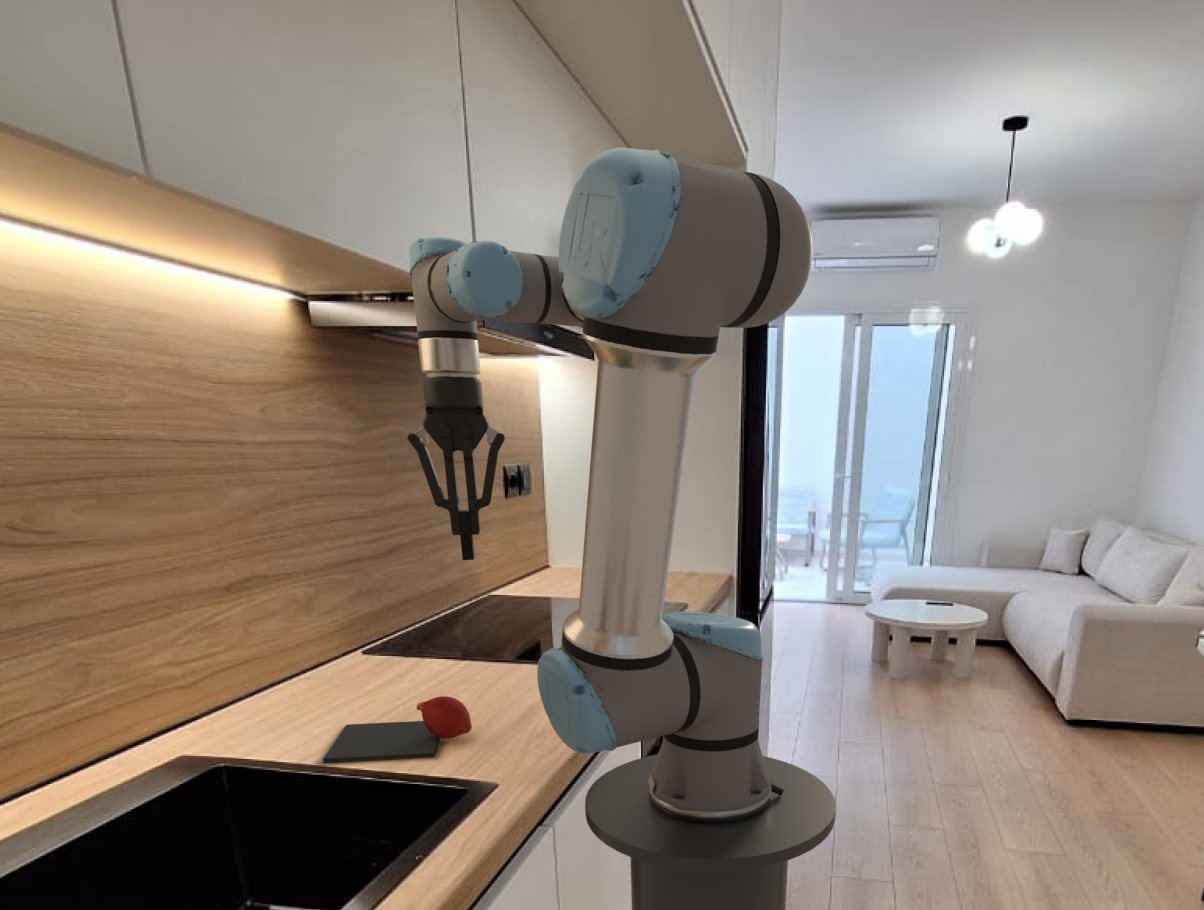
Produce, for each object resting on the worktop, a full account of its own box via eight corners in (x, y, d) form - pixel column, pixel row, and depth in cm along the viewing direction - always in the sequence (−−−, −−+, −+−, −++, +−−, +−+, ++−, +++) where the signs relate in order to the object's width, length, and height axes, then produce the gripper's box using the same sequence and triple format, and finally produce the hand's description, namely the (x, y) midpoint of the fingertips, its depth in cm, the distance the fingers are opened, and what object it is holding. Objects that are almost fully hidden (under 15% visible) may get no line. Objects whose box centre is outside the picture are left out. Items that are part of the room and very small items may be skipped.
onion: (469, 729, 117) (417, 703, 115) (484, 703, 114) (431, 676, 112) (457, 755, 113) (403, 729, 110) (473, 729, 109) (418, 702, 107)
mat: (445, 723, 119) (445, 719, 119) (434, 756, 107) (433, 752, 107) (346, 728, 117) (346, 724, 117) (323, 762, 105) (322, 758, 105)
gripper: (503, 378, 111) (515, 553, 119) (404, 378, 109) (424, 555, 117) (501, 375, 104) (515, 561, 112) (395, 374, 102) (417, 564, 110)
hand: (468, 558), depth 115 cm, fingers closed
